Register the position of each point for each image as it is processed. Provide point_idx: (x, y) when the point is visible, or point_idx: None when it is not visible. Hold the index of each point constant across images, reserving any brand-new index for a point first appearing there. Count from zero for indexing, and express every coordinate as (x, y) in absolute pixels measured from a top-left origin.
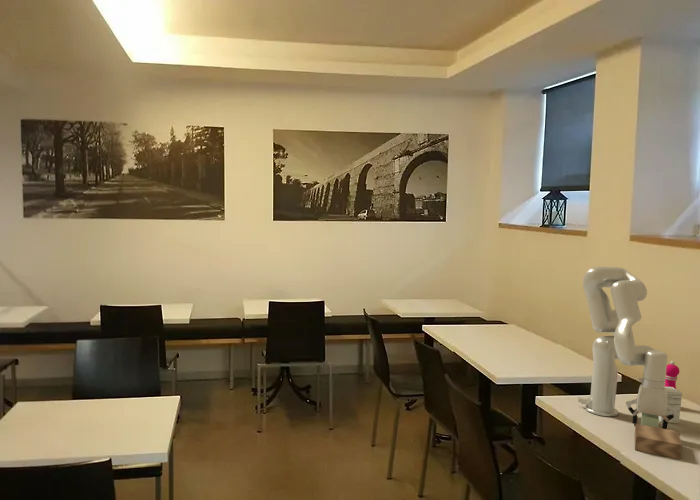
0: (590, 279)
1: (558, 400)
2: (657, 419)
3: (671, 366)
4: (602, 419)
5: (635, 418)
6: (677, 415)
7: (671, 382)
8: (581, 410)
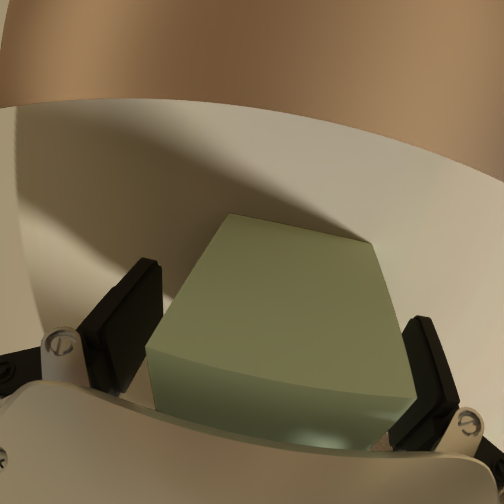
0: None
1: None
2: (169, 346)
3: None
4: (485, 404)
5: (449, 379)
6: None
7: None
8: (496, 442)
